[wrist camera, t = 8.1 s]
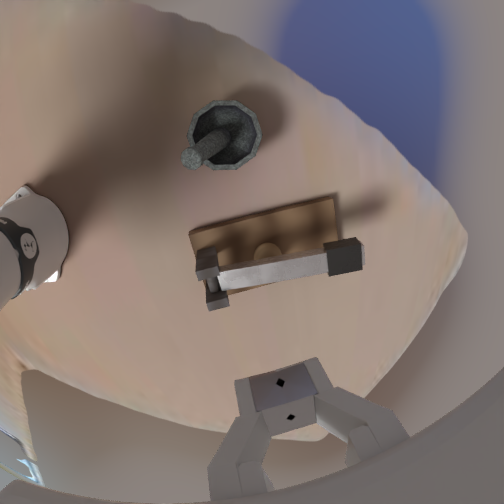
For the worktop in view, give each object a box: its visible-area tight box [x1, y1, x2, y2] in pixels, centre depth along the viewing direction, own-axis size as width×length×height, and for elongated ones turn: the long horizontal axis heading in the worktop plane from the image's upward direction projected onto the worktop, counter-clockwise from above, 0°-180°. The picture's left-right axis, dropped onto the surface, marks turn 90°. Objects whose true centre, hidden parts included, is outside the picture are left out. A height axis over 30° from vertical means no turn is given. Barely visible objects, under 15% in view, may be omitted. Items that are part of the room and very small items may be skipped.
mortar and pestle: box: [181, 101, 262, 170], centre depth 34 cm, size 11×9×12 cm
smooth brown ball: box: [254, 243, 282, 260], centre depth 43 cm, size 4×4×4 cm
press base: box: [189, 197, 338, 311], centre depth 43 cm, size 24×12×10 cm, turn 103°
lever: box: [217, 237, 365, 291], centre depth 39 cm, size 21×4×3 cm, turn 102°
